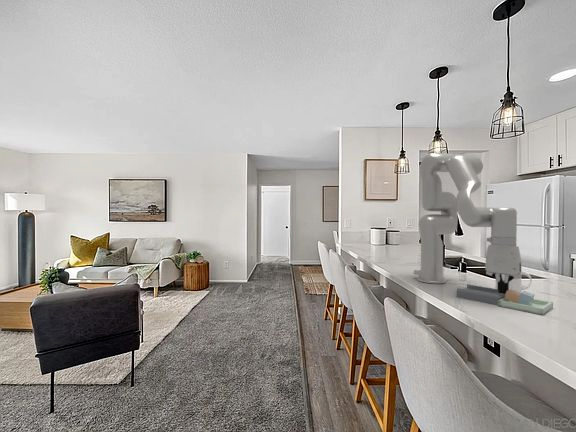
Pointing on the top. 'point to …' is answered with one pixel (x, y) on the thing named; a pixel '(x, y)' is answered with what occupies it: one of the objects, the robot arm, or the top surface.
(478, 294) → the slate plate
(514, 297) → the tan small block
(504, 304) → the tray
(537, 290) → the top surface
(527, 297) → the tile front
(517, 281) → the mug
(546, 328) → the top surface
